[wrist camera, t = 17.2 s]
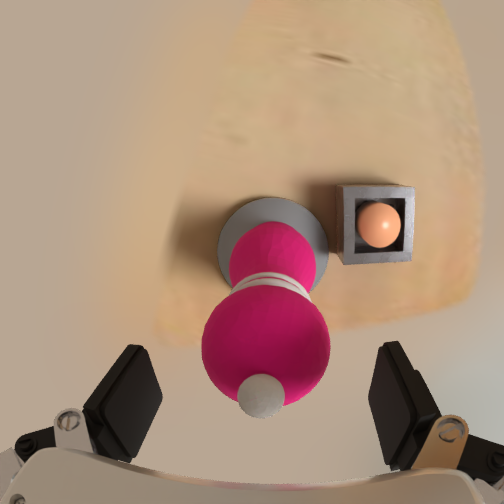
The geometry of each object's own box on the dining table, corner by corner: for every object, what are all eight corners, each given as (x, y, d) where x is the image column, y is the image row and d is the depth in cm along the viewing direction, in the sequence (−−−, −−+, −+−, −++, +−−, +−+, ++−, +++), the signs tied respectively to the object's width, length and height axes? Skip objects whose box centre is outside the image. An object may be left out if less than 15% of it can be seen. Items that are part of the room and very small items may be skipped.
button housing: (335, 184, 27) (343, 186, 23) (399, 184, 26) (414, 187, 22) (336, 253, 28) (343, 264, 25) (398, 250, 28) (411, 260, 24)
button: (353, 200, 26) (360, 203, 23) (391, 200, 25) (401, 203, 23) (353, 241, 27) (359, 248, 24) (390, 240, 26) (399, 246, 24)
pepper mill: (292, 296, 29) (303, 472, 10) (227, 271, 29) (149, 428, 10) (322, 232, 27) (401, 365, 8) (252, 204, 27) (185, 291, 8)
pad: (214, 201, 28) (211, 202, 27) (326, 195, 27) (327, 195, 26) (225, 302, 31) (223, 306, 30) (326, 298, 30) (327, 302, 29)
